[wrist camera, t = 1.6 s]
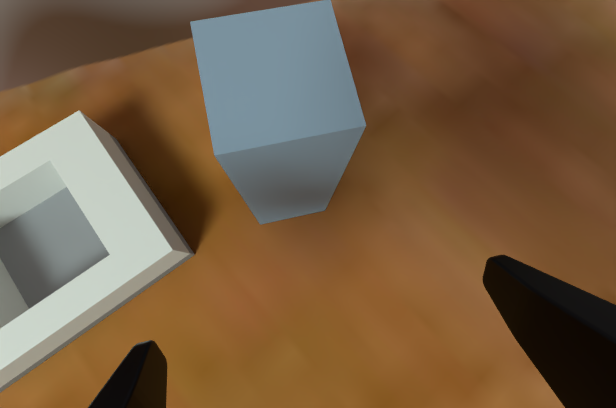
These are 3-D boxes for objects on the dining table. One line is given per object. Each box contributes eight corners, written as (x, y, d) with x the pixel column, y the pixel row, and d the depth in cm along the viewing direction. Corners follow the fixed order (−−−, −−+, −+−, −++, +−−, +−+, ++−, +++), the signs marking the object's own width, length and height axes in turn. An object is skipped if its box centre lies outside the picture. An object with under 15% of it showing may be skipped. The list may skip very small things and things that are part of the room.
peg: (325, 210, 22) (366, 125, 10) (260, 224, 22) (214, 155, 9) (310, 149, 23) (330, -1, 11) (247, 162, 23) (190, 22, 10)
